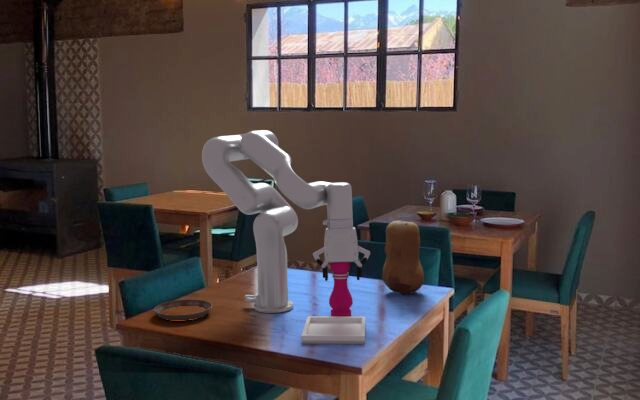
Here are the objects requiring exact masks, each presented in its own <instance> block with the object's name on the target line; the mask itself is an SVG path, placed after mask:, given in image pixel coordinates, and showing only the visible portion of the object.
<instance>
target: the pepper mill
mask: <svg viewBox="0 0 640 400" xmlns="http://www.w3.org/2000/svg"><path fill="white" fill-rule="evenodd" d="M330 269H331V271H332V273H331V276H332V278H333V288H332V291H331V293H330V296H329V299H328V304H329V307H330V308H331V309H330V316H343V317H352V310H351V308H352V306H353V303H354V302H353V297H352V294H351V292H350V290H349V287H348V278H349V277H350V276H349V273H350V272H349V270H350V269H351V262H330Z"/></svg>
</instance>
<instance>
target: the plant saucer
mask: <svg viewBox="0 0 640 400" xmlns="http://www.w3.org/2000/svg"><path fill="white" fill-rule="evenodd" d="M178 306H199V307H203V308H205V309H206V310H204V311H201V312H197V313H192V314H183V315H169V314H162V313H160V312H162V311H164V310H166V309H169V308H172V307H178ZM212 307H213V304H212V302H210V301H207V300H204V299H203V300H202V299H193V298H191V299H189V298H188V299H176V300H170V301H167V302H162V303H160V304H158V305H156V306H155V307H154V308H153V310H154V313H156V315H157V316H158V317H159V318H160V317H161V318H163V319H168V320H189V319H195V318H200V317H202V316H204V317H205V315H206V314H207V315H208V314H209V312H210V311H211V309H212ZM207 315H206V316H207ZM161 318H160V319H161ZM202 318H203V317H202ZM163 319H162V320H163ZM200 319H201V318H200Z"/></svg>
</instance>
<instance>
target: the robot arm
mask: <svg viewBox="0 0 640 400" xmlns="http://www.w3.org/2000/svg"><path fill="white" fill-rule="evenodd" d="M277 137H278V136H276V134H274V133H273V132H272V131H270V130H267V129H260V130H251V131H248V132H246V133H239V134H231V135H230V134H229V135H219V136H215V137H212V138H210V139H208V140H206V142H205V143H204V144H203V148H202V151H201V161H202V165H203V168H204V170H205V172H206V173H207V175H208V176H209V177H210V178H211V180H212V181H213V182H214V183H215V184H216V185H217V186H218V187H219V188H220V189H221V190H222V191H223V193H224V194H225V195H226V196H227V198H228V199H229V200H230V201H231V202H232V203H233V204H234V205H235V206H236V207H237V209H238V210H239V211H240V212H241V213H243V214H244V215H248V216H249V215H255V214H258V215H257V216H256V217H255V219H254V221H253V224H252V226H253V227H252V229H253V230H252V231H253V236H254V241H255V247H256V265H257V266H256V267H257V268H256V269H257V293H255V294H245V295H244V301H246V302H247V303H253V309H254V310H255V311H256V312H259V313H265V314H279V313H285V312H288V311H290V310H292V309H293V307H294V303H293V302H292V300H289V289H288V288H289V287H288V286H289V285H288V282H289V279H288V252H287V246H286V242H285V239H284V237H286V236H288V235H290V234H292V233H293V232H295V231H296V229H297V228H298V224H299V218H298V214H297V212H296V211H295V210H294V208H293V207H292V206H291V205H290V204H289V203H288V202H287V200H286V199H285V198H284V197H283V196H285V197H286V198H287V199H289V201H291V202H292V203H293V204H295V205H296V206H298V207H299V208H302V209H304V210H311V209H315V208H319V207H322V206H326V209H327V213H326V214H327V215H326V216H327V219H325V220H322V225H324V226H326V228H325V231H324V237H323V238H324V240H323V241H324V242H323V243H324V244H323V247H321V248H320V249H318V250H315V251H314V252H313V253H312V256H313V258H314V260H315V261H316V263H317V264H318V265H319V266H320V267H321V269H322V279H323V278H324V281H325V282H327V281H328V280H329V271H328V270H329V267H328V264H329V263H331V262H350V263H353V262H354V263H355V264H356V280H357V281H360V278H362V277H363V276H362V275H363V273H362V269H363V268H362V267H363V266H364V265H365V264H366V263H367V261H368V259H369V257H370V256H371V251H370V250H368V249H365V248H364V247H362V246H360V245H358V244H359V242H358V241H359V240H358V234H357V230H356V227H355V226H354V220H353V219H354V218H353V192H352V185H351V184H350V183H349V182H346V181H345V182H343V181H340V182H338V181H337V182H328V181H322V180H320V181H313V182H307V181H305V180H304V179H302V178H301V177H300V176H299V175H297V174H296V172H295V171H294V170H293V168H292V166H291V164H292V157H291V155H290V154H289V153H287V152H286V151H284V150H283V149H282V148H281V147H279V140H278V138H277ZM243 160H251V161H252V162H253V163H255V164H256V165H257V166H259V168H261V169H262V170H264V171H265V172H266V174H268V175H269V176H270V177H272V178H273V181H274V183H275V185H276V186H277V188H278V189H279V191H280V192H281V193H282V195H283V196H282V195H281V194H280V193H279V192H278V191H277V189H276V188H274V187H273V186H272V185H271V184H269V183H266V182H257V183H256V182H255V183H253V182H252V181H251V180H249V178H248V177H247V176H246V175H245V174H244V173H243V171H241V169H239V168H237V167H236V166H234V164H233V163H231V162H237V161H243ZM323 253H324V255H323V257H324V260H322V259H321V258H320V255H321V254H323ZM359 253H362V254H364V256H363V257H362V258H361V259H360V258H359Z"/></svg>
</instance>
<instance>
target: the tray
mask: <svg viewBox="0 0 640 400" xmlns="http://www.w3.org/2000/svg"><path fill="white" fill-rule="evenodd" d="M301 344H311V345H312V344H313V345H314V344H321V345H322V344H325V345H328V344H329V345H331V344H335V345H339V344H340V345H365V344H366V316H351V317H343V316H331V315H330V316H328V315H327V316H326V315H325V316H322V315H321V316H318V315H317V316H316V315H315V316H310V315H308V316H307V317H306V320H305V324H304V326H303V330H302V334H301Z"/></svg>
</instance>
